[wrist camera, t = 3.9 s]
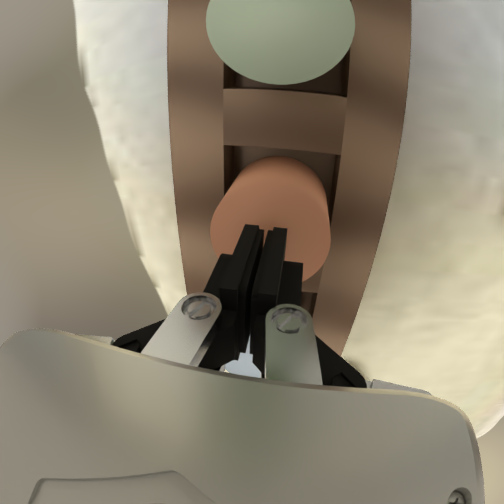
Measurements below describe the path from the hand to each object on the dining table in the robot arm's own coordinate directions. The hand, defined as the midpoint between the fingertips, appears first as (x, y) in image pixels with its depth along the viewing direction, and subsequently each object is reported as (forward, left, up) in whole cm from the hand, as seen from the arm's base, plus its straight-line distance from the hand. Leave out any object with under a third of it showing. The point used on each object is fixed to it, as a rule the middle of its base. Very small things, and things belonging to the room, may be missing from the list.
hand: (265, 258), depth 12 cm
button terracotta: (0, 0, -5) cm, 5 cm away
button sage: (-9, 0, -5) cm, 10 cm away
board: (0, 0, -8) cm, 8 cm away
